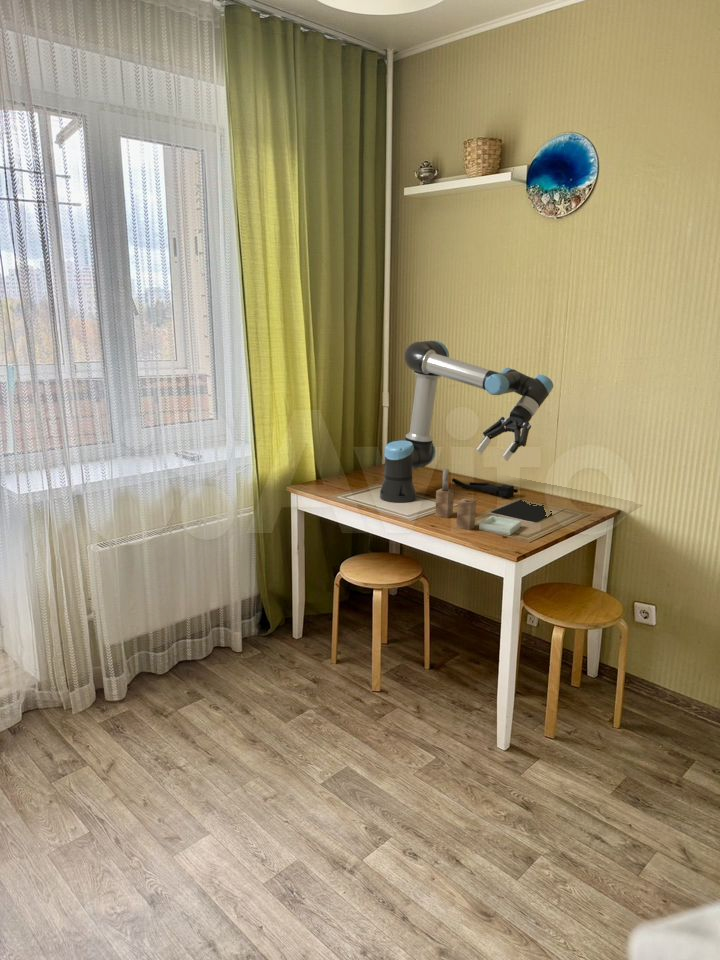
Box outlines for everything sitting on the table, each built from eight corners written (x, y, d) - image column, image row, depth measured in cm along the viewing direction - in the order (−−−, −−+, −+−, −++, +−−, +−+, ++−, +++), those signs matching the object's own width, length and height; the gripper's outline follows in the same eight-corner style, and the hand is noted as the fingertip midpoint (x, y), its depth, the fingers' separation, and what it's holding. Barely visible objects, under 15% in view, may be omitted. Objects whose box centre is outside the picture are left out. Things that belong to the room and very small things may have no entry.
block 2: (456, 527, 253) (457, 501, 250) (462, 524, 257) (463, 498, 254) (469, 530, 250) (470, 503, 248) (474, 526, 254) (476, 500, 252)
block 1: (435, 515, 267) (437, 470, 262) (440, 512, 271) (442, 467, 266) (447, 518, 264) (449, 472, 260) (452, 514, 268) (454, 469, 264)
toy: (447, 489, 310) (505, 500, 290) (447, 479, 309) (506, 489, 289) (459, 486, 317) (517, 496, 297) (460, 475, 316) (518, 485, 296)
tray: (479, 529, 251) (479, 523, 250) (491, 521, 260) (491, 515, 260) (509, 535, 245) (510, 529, 244) (520, 527, 254) (521, 520, 254)
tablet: (536, 522, 259) (489, 512, 271) (535, 524, 259) (488, 514, 271) (566, 508, 279) (521, 499, 291) (566, 510, 279) (521, 500, 292)
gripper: (554, 422, 249) (521, 468, 245) (504, 413, 269) (473, 455, 265) (544, 408, 245) (511, 454, 241) (495, 400, 265) (463, 443, 261)
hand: (491, 455), depth 253 cm, fingers open, 13 cm apart
